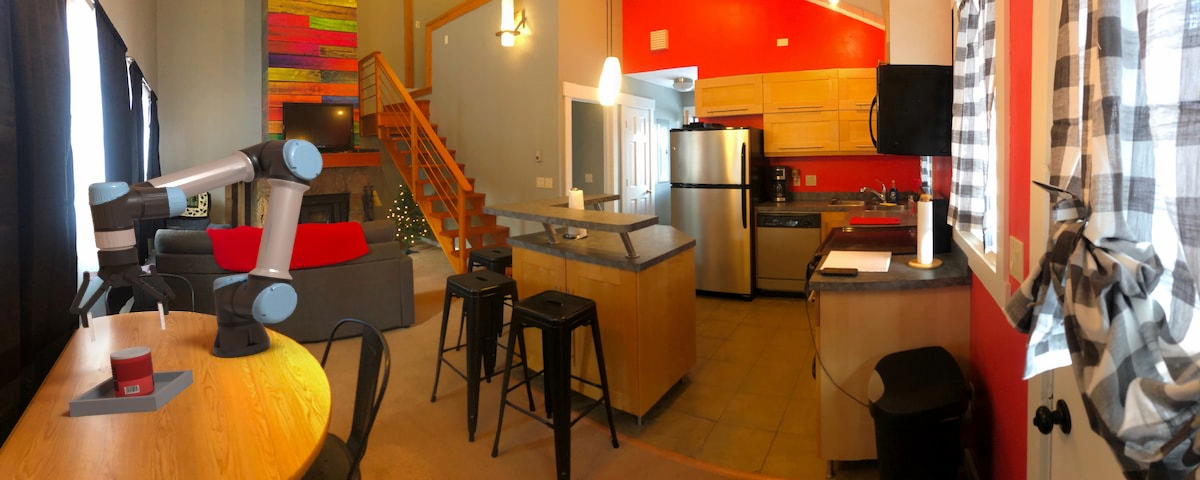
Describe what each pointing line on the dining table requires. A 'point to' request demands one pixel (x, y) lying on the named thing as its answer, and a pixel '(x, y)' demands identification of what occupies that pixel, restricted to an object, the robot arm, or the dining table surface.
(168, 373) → the tray
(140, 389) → the canned food
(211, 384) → the dining table surface
